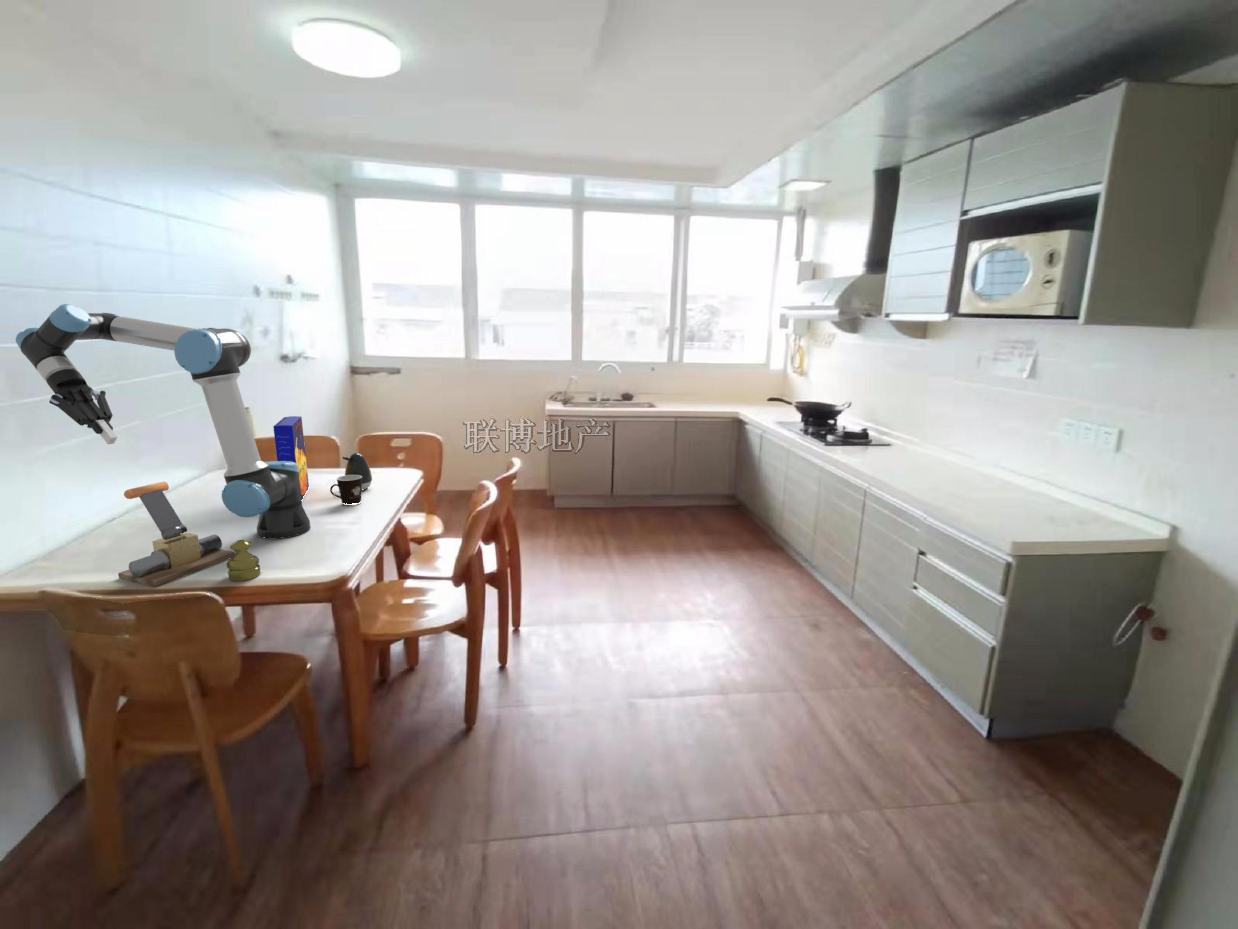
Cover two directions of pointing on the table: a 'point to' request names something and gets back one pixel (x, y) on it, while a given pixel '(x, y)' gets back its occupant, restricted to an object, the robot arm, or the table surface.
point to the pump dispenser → (359, 468)
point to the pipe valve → (176, 559)
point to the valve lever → (159, 508)
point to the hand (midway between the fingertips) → (112, 440)
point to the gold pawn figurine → (242, 562)
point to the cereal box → (292, 446)
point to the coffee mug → (349, 488)
